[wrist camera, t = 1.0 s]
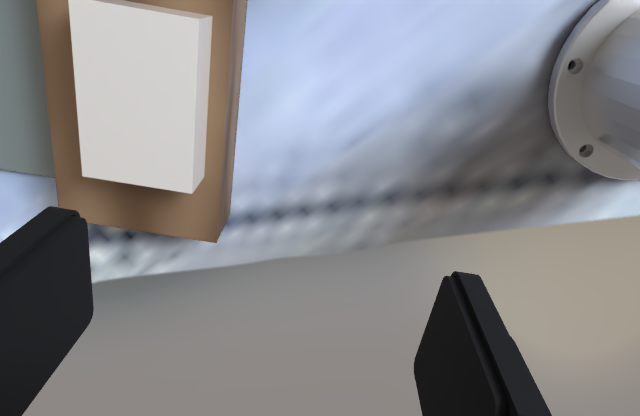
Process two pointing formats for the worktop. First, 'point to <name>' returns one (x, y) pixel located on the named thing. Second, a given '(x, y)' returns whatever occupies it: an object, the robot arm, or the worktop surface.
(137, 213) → the board
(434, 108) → the worktop surface
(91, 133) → the tile
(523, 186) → the worktop surface
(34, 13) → the mat
